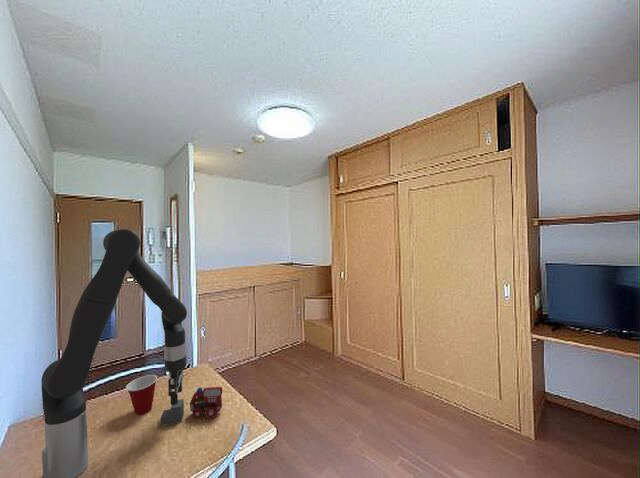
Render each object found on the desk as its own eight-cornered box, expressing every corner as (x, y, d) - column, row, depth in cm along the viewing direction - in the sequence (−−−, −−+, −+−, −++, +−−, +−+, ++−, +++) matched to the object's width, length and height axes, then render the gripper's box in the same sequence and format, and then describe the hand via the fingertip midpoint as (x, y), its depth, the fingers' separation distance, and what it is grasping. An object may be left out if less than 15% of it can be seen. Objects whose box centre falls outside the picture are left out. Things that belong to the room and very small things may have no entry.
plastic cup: (125, 409, 115) (124, 380, 115) (156, 399, 121) (155, 372, 121) (127, 423, 106) (126, 391, 106) (160, 412, 113) (159, 382, 113)
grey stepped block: (160, 426, 105) (160, 410, 104) (164, 417, 109) (163, 402, 109) (181, 422, 106) (181, 406, 106) (184, 414, 111) (183, 399, 111)
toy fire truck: (195, 408, 115) (194, 382, 115) (225, 407, 115) (225, 382, 115) (187, 419, 108) (186, 392, 108) (219, 418, 108) (218, 391, 108)
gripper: (168, 349, 114) (170, 390, 114) (159, 365, 100) (160, 410, 100) (189, 347, 116) (190, 386, 116) (182, 362, 102) (184, 406, 102)
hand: (176, 398), depth 108 cm, fingers open, 8 cm apart
